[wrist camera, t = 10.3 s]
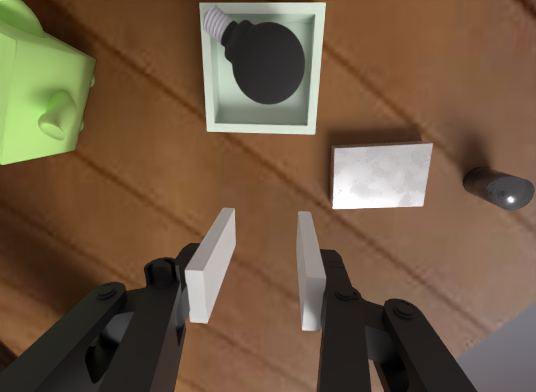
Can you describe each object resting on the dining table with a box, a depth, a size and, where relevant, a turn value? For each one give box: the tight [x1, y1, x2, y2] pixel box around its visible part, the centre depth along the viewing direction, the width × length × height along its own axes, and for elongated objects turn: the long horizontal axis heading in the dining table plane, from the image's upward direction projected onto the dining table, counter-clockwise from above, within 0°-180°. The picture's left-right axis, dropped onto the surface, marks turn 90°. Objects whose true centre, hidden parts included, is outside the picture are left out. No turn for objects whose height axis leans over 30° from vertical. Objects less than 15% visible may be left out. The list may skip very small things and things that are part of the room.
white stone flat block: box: [330, 141, 433, 209], centre depth 29 cm, size 10×7×2 cm
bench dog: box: [463, 167, 535, 210], centre depth 26 cm, size 3×3×5 cm
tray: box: [199, 3, 326, 134], centre depth 25 cm, size 11×11×3 cm
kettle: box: [0, 0, 97, 165], centre depth 23 cm, size 15×14×11 cm
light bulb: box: [203, 5, 305, 105], centre depth 22 cm, size 6×6×10 cm
